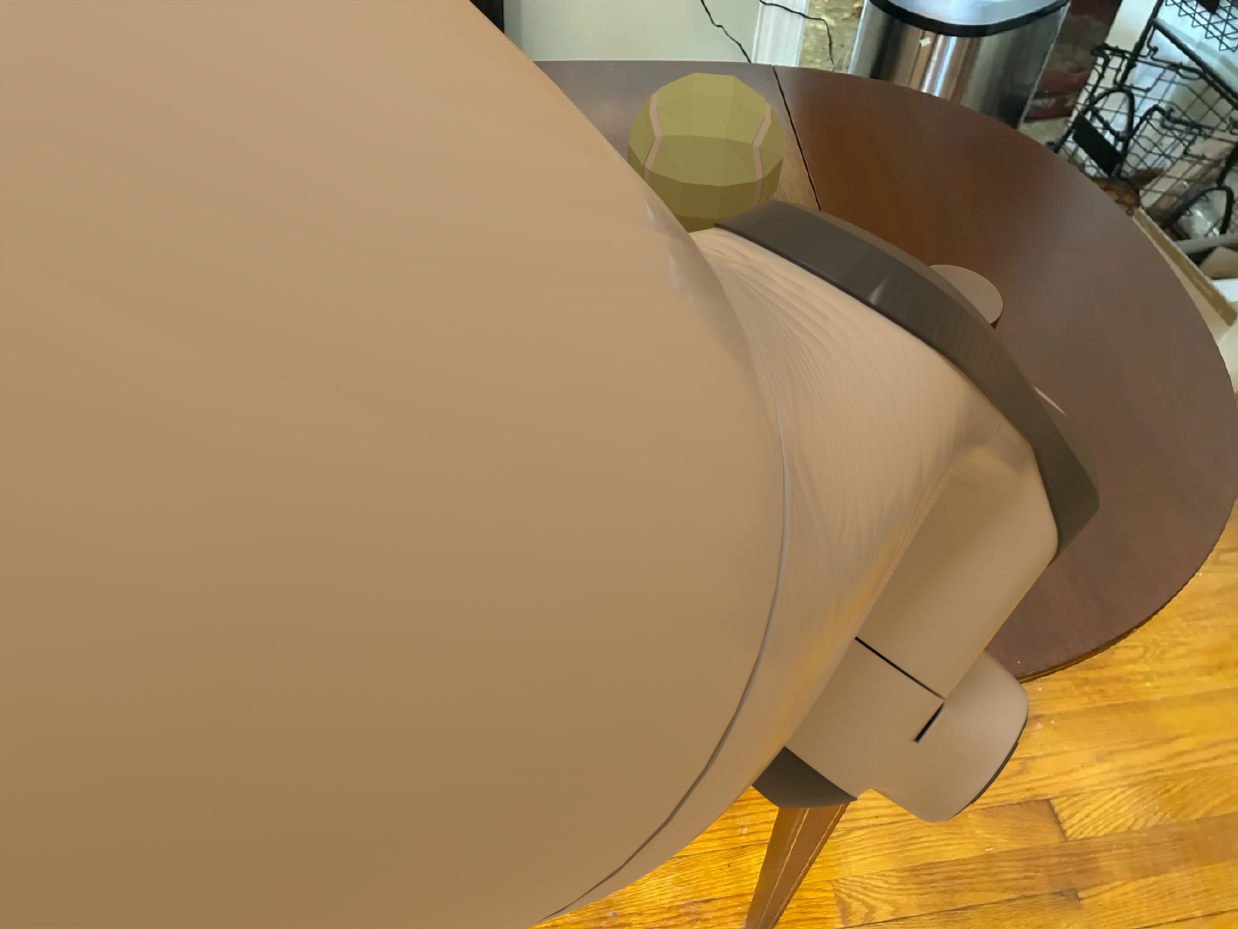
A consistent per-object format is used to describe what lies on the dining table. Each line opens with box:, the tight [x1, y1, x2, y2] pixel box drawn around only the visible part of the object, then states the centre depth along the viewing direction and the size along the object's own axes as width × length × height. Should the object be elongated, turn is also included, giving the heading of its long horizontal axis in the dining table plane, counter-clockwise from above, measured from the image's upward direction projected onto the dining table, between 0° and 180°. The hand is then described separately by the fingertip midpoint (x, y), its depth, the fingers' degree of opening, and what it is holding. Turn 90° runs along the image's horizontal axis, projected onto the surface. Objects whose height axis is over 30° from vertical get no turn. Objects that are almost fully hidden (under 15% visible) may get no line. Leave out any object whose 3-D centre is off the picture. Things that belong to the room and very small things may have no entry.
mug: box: [928, 263, 1005, 331], centre depth 79 cm, size 10×8×10 cm
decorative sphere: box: [626, 72, 785, 233], centre depth 90 cm, size 15×15×15 cm
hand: (526, 410), depth 52 cm, fingers closed on amber bottle, 5 cm apart
